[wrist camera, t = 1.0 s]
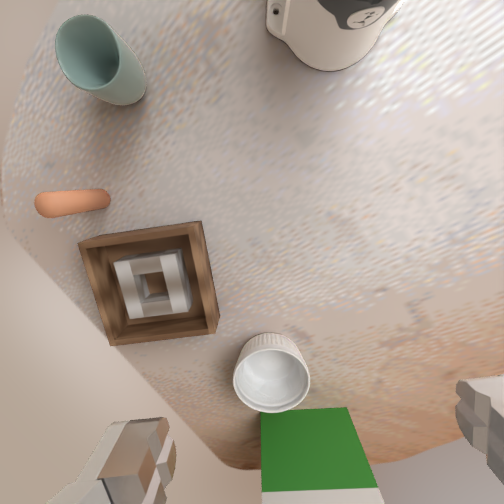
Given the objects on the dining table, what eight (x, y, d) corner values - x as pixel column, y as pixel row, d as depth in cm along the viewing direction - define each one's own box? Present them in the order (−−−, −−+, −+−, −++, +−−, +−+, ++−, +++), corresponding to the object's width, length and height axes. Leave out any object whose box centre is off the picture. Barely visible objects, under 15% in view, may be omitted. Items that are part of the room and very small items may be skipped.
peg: (88, 190, 45) (30, 194, 34) (107, 187, 45) (55, 190, 33) (94, 209, 46) (39, 219, 34) (112, 206, 46) (63, 216, 34)
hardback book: (346, 407, 56) (411, 570, 32) (346, 435, 58) (406, 609, 34) (260, 411, 56) (263, 574, 33) (262, 439, 58) (266, 612, 35)
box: (99, 235, 47) (77, 243, 41) (201, 220, 46) (193, 226, 40) (126, 327, 52) (110, 346, 46) (219, 315, 51) (215, 333, 45)
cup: (161, 102, 42) (132, 79, 32) (114, 118, 42) (72, 99, 33) (142, 45, 40) (105, 2, 30) (93, 63, 40) (42, 26, 31)
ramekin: (237, 386, 55) (235, 415, 48) (233, 327, 51) (229, 349, 45) (303, 383, 54) (310, 412, 48) (303, 324, 51) (310, 346, 44)
